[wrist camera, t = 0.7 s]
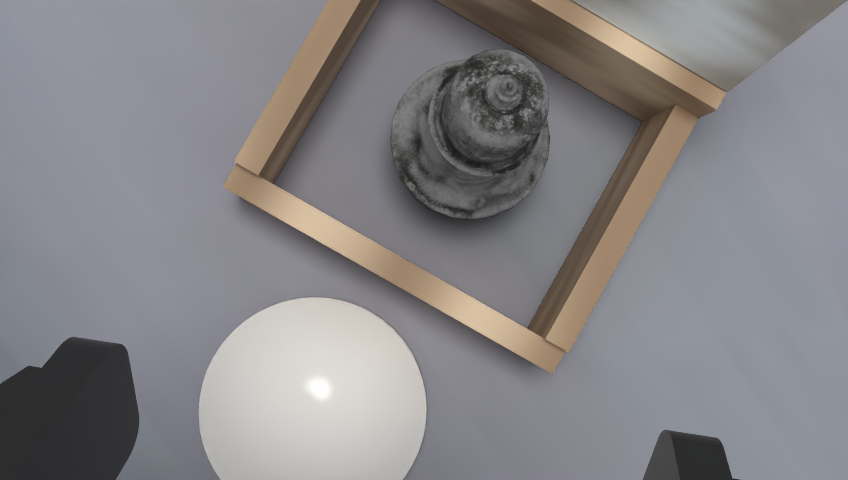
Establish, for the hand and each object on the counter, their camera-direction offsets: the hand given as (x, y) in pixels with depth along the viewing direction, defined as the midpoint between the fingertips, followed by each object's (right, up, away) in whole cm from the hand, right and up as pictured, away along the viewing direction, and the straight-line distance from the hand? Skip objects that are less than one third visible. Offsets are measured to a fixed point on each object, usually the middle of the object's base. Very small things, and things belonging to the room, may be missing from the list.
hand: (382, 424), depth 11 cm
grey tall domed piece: (+2, +6, +20) cm, 21 cm away
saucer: (-4, -4, +19) cm, 20 cm away
